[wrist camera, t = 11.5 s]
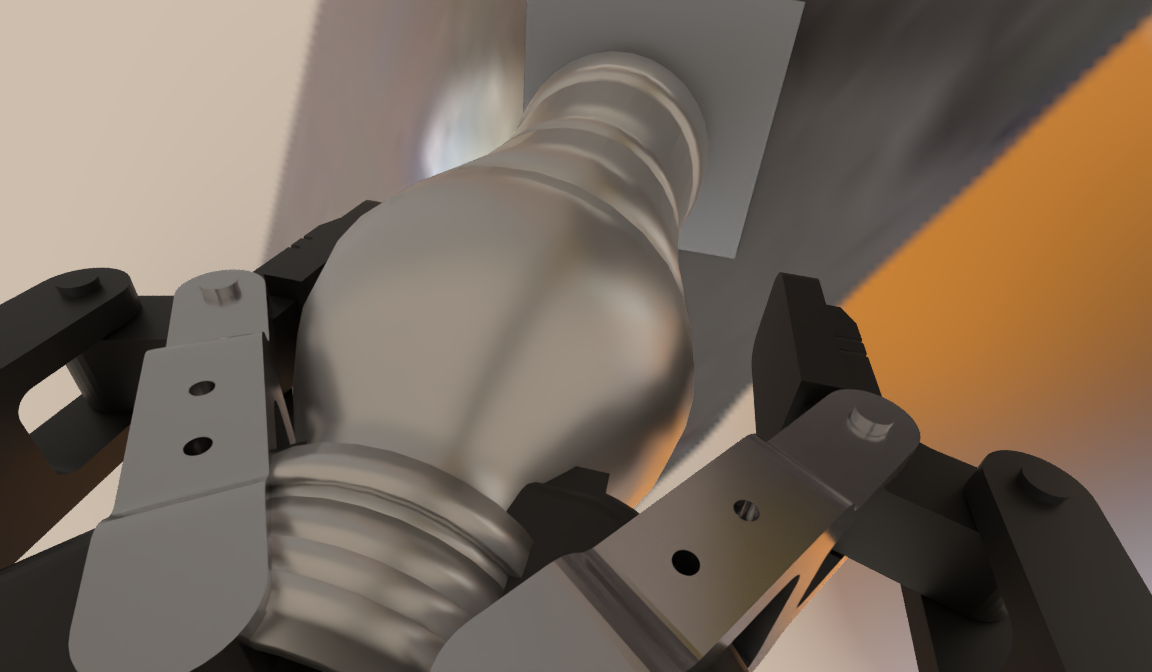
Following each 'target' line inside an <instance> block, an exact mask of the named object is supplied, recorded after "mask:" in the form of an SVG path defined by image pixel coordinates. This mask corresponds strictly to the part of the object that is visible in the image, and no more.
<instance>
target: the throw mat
mask: <svg viewBox="0 0 1152 672" xmlns="http://www.w3.org/2000/svg"><path fill="white" fill-rule="evenodd" d="M804 5H805V1H801V0H527V7H526V39H525V71H524V103H523V113H524V111H525V110H526V108H527V106H528V105H529V103H530V101H531V100H532V98H533V97H534V95H535V94H536V92H537V91H538V89H539V88H540V86H541V85H542V84H543V83H544V82H545V81H546V80H547V79H548V78H549V77H550V76H551V75H553V74H554V73H555V72H556V71H557V70H559V69H560V68H562V67H564V66H565V65H567V64H568V63H570V62H571V61H573V60H576V59H579V58H582V57H584V56H587V55H590V54H594V53H602V52H609V51H616V52H626V53H634V54H637V55H640V56H643V57H646V58H649V59H652V60H654V61H655V62H657V63H659V64H660V65H662V66H664V67H665V68H667V69H669V70H670V71H671V72H672V73H673V74H674V75H675V76H676V77H677V78H679V79H680V80H681V81H682V82H683V83H684V84H685V85H686V87H687V88H688V90H689V91H690V93H691V94H692V96H693V97H694V99H695V100H696V102H697V103H698V106H699V108H700V111H701V113H702V116H703V118H704V121H705V125H706V130H707V136H708V141H709V154H708V167H707V172H706V176H705V181H704V184H703V186H702V189H701V191H700V193H699V196H698V198H697V201H696V203H695V205H694V207H693V209H692V211H691V213H690V215H689V216H688V218H687V219H686V221H685V222H684V224H683V225H682V227H681V230H680V233H679V240H678V249H681V250H687V251H693V252H699V253H704V254H710V255H716V256H722V257H728V258H734V259H735V255H736V251H737V248H738V244H739V241H740V237H741V233H742V230H743V226H744V223H745V219H746V215H747V212H748V208H749V204H750V201H751V197H752V194H753V190H754V186H755V183H756V179H757V175H758V172H759V168H760V165H761V161H762V157H763V154H764V150H765V146H766V143H767V139H768V136H769V132H770V128H771V125H772V121H773V117H774V114H775V110H776V107H777V103H778V99H779V96H780V92H781V89H782V85H783V81H784V78H785V74H786V70H787V67H788V63H789V60H790V56H791V52H792V49H793V45H794V41H795V38H796V34H797V31H798V27H799V23H800V20H801V16H802V12H803V9H804Z"/></svg>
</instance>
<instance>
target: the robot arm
mask: <svg viewBox="0 0 1152 672" xmlns="http://www.w3.org/2000/svg"><path fill="white" fill-rule="evenodd" d="M381 203H383V202H377V201H371V200H366V201H364V202H362V203H361V204H360V205H358V206H357V207H355V208H354V209H353V210H351V211H350V212H349V213H347V214H346V215H344V216H343V217H342V218H339V219H336V220H333V221H330V222H328V223H325V224H322V225H319V226H318V227H316V228H315V229H314V230H312V231H311V232H309V233H308V234H306V235H305V236H304V239H302V238H301V239H299V240H298V241H296V242H295V243H294V244H292V245H291V248H289V247H288V248H286V249H285V250H284V251H282V252H281V253H279V254H278V255H276V256H275V257H274V258H272V259H271V260H269V261H268V262H266V263H265V264H264V265H262V266H261V267H259V268H258V269H256V270H255V271H254V272H250V271H245V270H221V271H215V272H210V273H206V274H203V275H200V276H198V277H195V278H192V279H191V280H189V281H187V282H185V283H184V284H182V285H181V286H180V287H179V288H178V289H177V290H176V292H175V295H174V296H138V295H137V293H136V290H135V288H134V286H133V283H132V281H131V279H130V276H129V275H128V274H127V273H125V272H124V271H121V270H117V269H112V268H89V269H82V270H76V271H71V272H67V273H64V274H61V275H57V276H55V277H52V278H50V279H48V280H46V281H43V282H42V283H40V284H38V285H36V286H34V287H32V288H30V289H29V290H27V291H25V292H23V293H21V294H19V295H18V296H16V297H14V298H12V299H10V300H8V301H6V302H4V303H3V304H1V305H0V672H322V671H319V670H317V669H314V668H311V667H308V666H305V665H303V664H300V663H297V662H294V661H291V660H289V659H286V658H283V657H280V656H277V655H274V654H270V653H266V652H262V651H258V650H255V649H253V647H252V644H251V642H250V638H251V637H252V636H253V635H254V633H255V632H256V630H257V629H258V627H259V626H260V624H261V623H262V621H263V619H264V617H265V615H266V613H267V612H266V610H265V608H266V606H267V604H268V600H269V597H270V593H271V584H272V562H271V507H272V484H271V481H270V469H271V461H272V455H273V454H275V453H278V452H281V451H283V450H286V449H288V448H291V447H293V446H300V445H307V442H308V440H306V441H302V442H298V443H296V440H295V423H294V405H293V378H294V367H295V355H296V343H297V333H298V329H299V324H300V319H301V315H302V310H303V306H304V304H305V302H306V300H307V298H308V296H309V295H310V293H311V291H312V289H313V287H314V285H315V283H316V281H317V279H318V277H319V275H320V274H321V272H322V270H323V268H324V266H325V264H326V262H327V260H328V258H329V256H330V255H331V253H332V251H333V249H334V247H335V245H336V243H337V241H338V240H339V239H340V238H341V237H342V236H343V235H344V234H345V233H346V231H347V230H348V229H349V228H350V227H351V226H352V225H353V224H354V223H355V222H356V221H357V220H358V219H359V218H360V216H362V215H363V214H365V213H367V212H368V211H370V210H371V209H373V208H375V207H376V206H378V205H379V204H381ZM861 342H862V338H861V335H860V333H859V330H858V327H857V324H856V323H855V322H854V321H853V320H852V319H851V318H850V317H849V316H848V315H847V314H846V313H845V312H844V310H843V309H842V308H841V307H836V306H830V305H826V302H825V299H824V295H823V292H822V288H821V285H820V282H819V280H818V279H817V278H811V277H805V276H799V275H794V274H788V273H782V272H780V273H779V274H778V275H777V277H776V279H775V281H774V284H773V287H772V290H771V293H770V296H769V299H768V302H767V305H766V308H765V311H764V314H763V317H762V320H761V323H760V326H759V329H758V332H757V335H756V339H755V342H754V347H753V353H752V378H753V393H754V407H755V421H756V434H750V435H748V436H746V437H745V438H743V439H742V440H740V441H739V442H737V443H736V444H735V445H733V446H732V447H730V448H729V449H728V450H727V451H725V452H724V453H722V454H721V455H720V456H718V457H717V458H715V459H714V460H713V461H711V462H710V463H709V464H707V465H706V466H704V467H703V468H702V469H700V470H699V471H698V472H696V473H695V474H694V475H692V476H691V477H690V478H688V479H687V480H685V481H684V482H683V483H681V484H680V485H679V486H677V487H676V488H674V489H673V490H672V491H670V492H669V493H668V494H666V495H665V496H664V497H662V498H661V499H659V500H658V501H657V502H655V503H654V504H652V505H651V506H650V507H648V508H647V509H646V510H644V511H643V512H642V513H640V514H639V513H638V512H637V511H635V510H634V509H633V508H632V507H630V506H628V505H627V504H625V503H623V502H622V501H620V500H619V499H617V498H615V497H613V496H611V495H609V494H607V493H606V492H607V486H608V481H609V475H610V473H605V472H601V471H596V470H592V469H587V468H583V467H578V466H575V467H574V468H572V469H570V470H569V471H567V472H565V473H563V474H561V475H559V476H557V477H555V478H553V479H551V480H549V481H547V482H545V483H538V482H533V483H529V484H527V485H526V486H525V487H524V488H522V489H521V491H520V492H519V494H518V495H517V497H516V498H515V500H514V501H513V502H512V504H511V505H510V506H509V508H508V509H507V511H506V512H507V513H508V514H509V515H510V516H511V517H513V518H514V519H515V520H516V521H517V522H518V523H519V524H520V525H521V526H522V527H523V528H524V529H525V530H526V532H527V533H528V534H529V535H530V537H531V538H532V539H533V540H534V542H533V545H532V548H531V551H530V554H529V557H528V560H527V563H526V566H525V569H524V572H523V575H522V578H518V577H512V576H509V577H508V580H507V583H506V586H505V589H504V592H503V594H502V597H501V598H500V599H499V600H498V601H496V602H495V603H493V604H492V605H491V606H489V607H488V608H486V609H485V610H483V611H482V612H481V613H479V614H478V615H476V616H475V617H474V618H472V619H471V620H469V621H468V622H467V623H466V624H464V625H463V626H462V627H461V628H460V629H458V630H457V631H456V632H455V633H454V634H453V635H452V636H451V638H450V639H449V640H448V641H447V642H446V643H445V645H444V646H443V648H442V649H441V651H440V652H439V654H438V655H437V657H436V659H435V661H434V663H433V666H432V668H431V670H430V672H753V671H754V670H755V669H756V667H757V666H758V665H759V664H760V662H761V661H762V660H763V659H764V657H765V656H766V655H767V654H768V652H769V651H770V649H771V648H772V647H773V645H774V644H775V643H776V641H777V640H778V638H779V637H780V635H781V634H782V633H783V632H784V630H785V629H786V628H787V626H788V625H789V624H790V623H791V622H792V620H793V619H794V618H795V617H796V616H797V615H798V614H799V612H800V611H801V610H802V609H803V608H804V607H805V606H806V605H807V603H808V602H809V601H810V600H811V599H812V598H813V597H814V595H815V594H816V593H817V592H818V591H819V590H820V588H821V587H822V586H823V585H824V584H825V583H826V582H827V581H828V580H829V578H830V577H831V576H832V575H833V574H834V573H835V571H836V570H837V569H838V568H839V567H840V566H841V565H842V564H843V563H844V561H845V560H846V559H847V558H850V559H852V560H854V561H856V562H858V563H860V564H862V565H864V566H866V567H868V568H870V569H872V570H875V571H876V572H878V573H880V574H882V575H884V576H886V577H888V578H890V579H892V580H894V581H896V582H898V583H900V584H901V589H902V593H903V598H904V603H905V608H906V613H907V617H908V622H909V627H910V632H911V636H912V641H913V645H914V651H915V655H916V660H917V665H918V670H919V672H1152V595H1151V593H1150V591H1149V590H1148V588H1147V586H1146V584H1145V583H1144V581H1143V579H1142V578H1141V576H1140V574H1139V573H1138V571H1137V569H1136V568H1135V566H1134V564H1133V563H1132V561H1131V559H1130V558H1129V556H1128V554H1127V553H1126V551H1125V549H1124V547H1123V546H1122V544H1121V542H1120V541H1119V539H1118V537H1117V536H1116V534H1115V532H1114V531H1113V529H1112V527H1111V526H1110V524H1109V522H1108V521H1107V519H1106V517H1105V516H1104V514H1103V512H1102V510H1101V509H1100V507H1099V505H1098V504H1097V502H1096V501H1095V499H1094V498H1093V496H1092V495H1091V494H1090V493H1089V492H1088V490H1087V489H1086V488H1084V486H1083V485H1081V484H1080V483H1079V482H1078V481H1077V480H1076V479H1074V478H1073V477H1072V476H1070V475H1069V474H1068V473H1066V472H1065V471H1063V470H1061V469H1060V468H1058V467H1056V466H1055V465H1053V464H1051V463H1049V462H1047V461H1045V460H1043V459H1040V458H1038V457H1035V456H1032V455H1029V454H1026V453H1022V452H1017V451H1009V450H1000V451H995V452H992V453H990V454H988V455H987V456H986V457H985V459H984V460H983V461H982V462H981V464H980V465H979V467H978V468H977V467H974V466H972V465H970V464H967V463H965V462H962V461H960V460H957V459H955V458H953V457H950V456H947V455H945V454H943V453H940V452H938V451H936V450H934V449H931V448H929V447H927V446H925V445H924V444H922V443H920V432H919V429H918V427H917V425H916V423H915V422H914V420H913V419H912V418H911V417H910V416H909V415H908V414H907V413H906V412H905V411H904V410H903V409H901V408H900V407H899V406H897V405H896V404H894V403H893V402H891V401H889V400H887V399H885V398H883V397H882V396H881V393H880V390H879V387H878V384H877V381H876V378H875V375H874V373H873V370H872V367H871V364H870V362H869V358H868V357H866V354H867V353H866V350H865V347H864V344H863V343H861ZM64 365H66V366H67V368H68V370H69V372H70V373H71V375H72V377H73V379H74V380H75V382H76V384H77V386H78V387H79V389H80V391H81V393H82V394H81V395H80V396H79V397H78V398H76V399H75V400H74V401H72V402H71V403H70V404H68V405H67V406H66V407H64V408H63V409H62V410H60V411H59V412H58V413H57V414H55V415H54V416H53V417H51V418H50V419H49V420H48V421H46V422H45V423H43V424H42V425H41V426H39V427H38V428H37V429H36V430H34V431H33V432H32V433H30V434H29V433H28V432H27V431H26V429H25V427H24V426H23V425H22V423H21V421H20V419H19V415H18V410H19V405H20V402H21V400H22V398H23V397H24V395H25V394H26V393H27V392H28V391H29V390H30V389H31V388H32V387H33V386H35V385H37V384H38V383H40V382H41V381H42V380H44V379H45V378H47V377H48V376H50V375H51V374H52V373H54V372H56V371H57V370H58V369H60V368H61V367H63V366H64ZM122 462H123V465H122V470H121V475H120V480H119V485H118V490H117V495H116V500H115V505H114V509H113V511H112V513H111V515H110V516H109V517H108V518H106V519H104V520H102V521H101V522H100V523H99V524H98V525H97V526H96V528H95V529H92V530H90V531H88V532H85V533H84V534H81V535H79V536H76V537H74V538H72V539H69V540H67V541H65V542H63V543H61V544H58V545H56V546H53V547H51V548H49V549H47V550H44V551H42V552H40V553H38V554H35V555H33V556H30V557H28V558H26V559H23V560H21V561H19V562H17V563H15V562H16V561H17V560H18V559H19V558H20V557H21V556H23V555H24V554H25V553H26V552H27V551H28V550H29V549H30V548H31V547H32V546H33V545H34V544H35V543H36V542H37V541H38V540H40V539H41V538H42V537H43V536H44V535H45V534H46V533H47V532H48V531H49V530H50V529H51V528H52V527H53V526H55V524H56V523H58V522H59V521H60V520H61V519H62V518H63V517H64V516H65V515H66V514H67V513H68V512H69V511H70V510H72V509H73V508H74V507H75V506H76V505H77V504H78V503H79V502H80V501H81V500H82V499H83V498H84V497H85V496H86V495H88V494H89V492H90V491H92V490H93V489H94V488H95V487H96V486H97V485H98V484H99V483H100V482H101V481H102V480H104V478H106V477H107V476H108V475H109V474H110V473H111V472H112V471H113V470H114V469H115V468H116V467H117V466H118V465H119V464H120V463H122Z"/></svg>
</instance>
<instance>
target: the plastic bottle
mask: <svg viewBox="0 0 1152 672" xmlns="http://www.w3.org/2000/svg"><path fill="white" fill-rule="evenodd" d="M708 154H709V141H708V136H707V130H706V125H705V121H704V118H703V116H702V113H701V111H700V108H699V106H698V103H697V102H696V100H695V99H694V97H693V96H692V94H691V93H690V91H689V90H688V88H687V87H686V85H685V84H684V83H683V82H682V81H681V80H680V79H679V78H677V77H676V76H675V75H674V74H673V73H672V72H671V71H670V70H669V69H667V68H665V67H664V66H662V65H660V64H659V63H657V62H655V61H654V60H652V59H649V58H646V57H643V56H640V55H637V54H634V53H626V52H616V51H609V52H602V53H594V54H590V55H587V56H584V57H582V58H579V59H576V60H573V61H571V62H570V63H568V64H567V65H565V66H564V67H562V68H560V69H559V70H557V71H556V72H555V73H554V74H553V75H551V76H550V77H549V78H548V79H547V80H546V81H545V82H544V83H543V84H542V85H541V86H540V88H539V89H538V91H537V92H536V94H535V95H534V97H533V98H532V100H531V101H530V103H529V105H528V106H527V108H526V110H525V111H524V113H523V115H522V117H521V120H520V122H519V125H518V127H517V129H516V132H515V133H514V135H513V136H512V137H511V139H510V140H509V141H507V142H506V143H504V144H503V145H502V146H500V147H498V148H497V149H495V150H494V151H492V152H491V153H489V154H488V155H486V156H484V157H481V158H478V159H476V160H473V161H471V162H468V163H466V164H463V165H460V166H458V167H455V168H453V169H450V170H448V171H445V172H442V173H440V174H437V175H435V176H432V177H430V178H427V179H424V180H421V181H419V182H417V183H416V184H414V185H412V186H411V187H409V188H407V189H406V190H404V191H402V192H400V193H398V194H396V195H394V196H392V197H391V198H389V199H388V200H386V201H384V202H383V203H381V204H379V205H378V206H376V207H375V208H373V209H371V210H370V211H368V212H367V213H365V214H363V215H362V216H360V218H359V219H358V220H357V221H356V222H355V223H354V224H353V225H352V226H351V227H350V228H349V229H348V230H347V231H346V233H345V234H344V235H343V236H342V237H341V238H340V239H339V240H338V241H337V243H336V245H335V247H334V249H333V251H332V253H331V255H330V256H329V258H328V260H327V262H326V264H325V266H324V268H323V270H322V272H321V274H320V275H319V277H318V279H317V281H316V283H315V285H314V287H313V289H312V291H311V293H310V295H309V296H308V298H307V300H306V302H305V304H304V306H303V310H302V315H301V319H300V324H299V329H298V333H297V343H296V355H295V367H294V378H293V405H294V423H295V440H296V443H298V442H302V441H306V440H308V442H307V445H300V446H293V447H291V448H288V449H286V450H283V451H281V452H278V453H275V454H273V455H272V461H271V469H270V481H271V484H272V507H271V562H272V584H271V593H270V597H269V600H268V604H267V606H266V608H265V610H266V612H267V613H266V615H265V617H264V619H263V621H262V623H261V624H260V626H259V627H258V629H257V630H256V632H255V633H254V635H253V636H252V637H251V638H250V642H251V644H252V647H253V649H255V650H258V651H262V652H266V653H270V654H274V655H277V656H280V657H283V658H286V659H289V660H291V661H294V662H297V663H300V664H303V665H305V666H308V667H311V668H314V669H317V670H319V671H322V672H430V670H431V668H432V666H433V663H434V661H435V659H436V657H437V655H438V654H439V652H440V651H441V649H442V648H443V646H444V645H445V643H446V642H447V641H448V640H449V639H450V638H451V636H452V635H453V634H454V633H455V632H456V631H457V630H458V629H460V628H461V627H462V626H463V625H464V624H466V623H467V622H468V621H469V620H471V619H472V618H474V617H475V616H476V615H478V614H479V613H481V612H482V611H483V610H485V609H486V608H488V607H489V606H491V605H492V604H493V603H495V602H496V601H498V600H499V599H500V598H501V597H502V594H503V592H504V589H505V586H506V583H507V580H508V577H509V576H512V577H518V578H522V575H523V572H524V569H525V566H526V563H527V560H528V557H529V554H530V551H531V548H532V545H533V542H534V540H533V539H532V538H531V537H530V535H529V534H528V533H527V532H526V530H525V529H524V528H523V527H522V526H521V525H520V524H519V523H518V522H517V521H516V520H515V519H514V518H513V517H511V516H510V515H509V514H508V513H507V512H506V511H507V509H508V508H509V506H510V505H511V504H512V502H513V501H514V500H515V498H516V497H517V495H518V494H519V492H520V491H521V489H522V488H524V487H525V486H526V485H527V484H529V483H533V482H538V483H545V482H547V481H549V480H551V479H553V478H555V477H557V476H559V475H561V474H563V473H565V472H567V471H569V470H570V469H572V468H574V467H575V466H578V467H583V468H587V469H592V470H596V471H601V472H605V473H610V475H609V481H608V486H607V492H606V493H607V494H609V495H611V496H613V497H615V498H617V499H619V500H620V501H622V502H623V503H625V504H627V505H628V506H630V507H632V508H634V507H635V506H636V505H637V504H638V503H639V502H640V501H641V500H642V499H643V498H644V497H645V496H646V495H647V493H648V492H649V491H650V490H651V489H652V488H653V487H654V485H655V483H656V481H657V479H658V478H659V476H660V474H661V472H662V470H663V469H664V467H665V465H666V463H667V461H668V459H669V457H670V456H671V454H672V452H673V450H674V448H675V446H676V444H677V442H678V440H679V438H680V437H681V435H682V433H683V431H684V429H685V427H686V423H687V419H688V416H689V412H690V408H691V404H692V400H693V377H694V362H693V349H692V330H691V326H690V321H689V316H688V311H687V306H686V301H685V296H684V290H683V285H682V280H681V275H680V270H679V264H678V240H679V233H680V230H681V227H682V225H683V224H684V222H685V221H686V219H687V218H688V216H689V215H690V213H691V211H692V209H693V207H694V205H695V203H696V201H697V198H698V196H699V193H700V191H701V189H702V186H703V184H704V181H705V176H706V172H707V167H708Z"/></svg>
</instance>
